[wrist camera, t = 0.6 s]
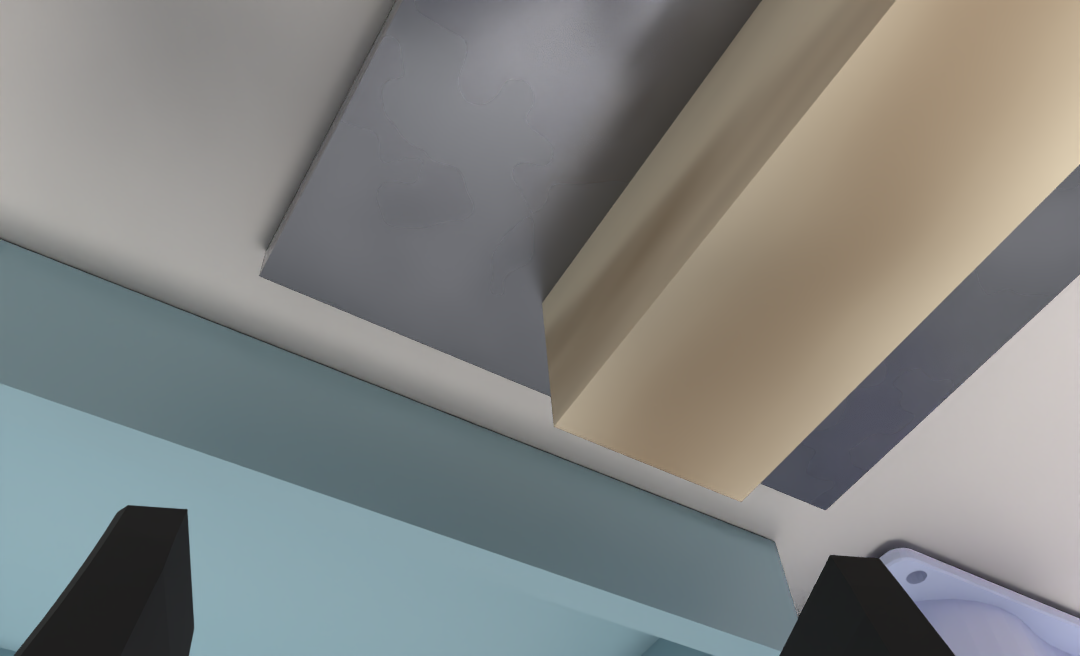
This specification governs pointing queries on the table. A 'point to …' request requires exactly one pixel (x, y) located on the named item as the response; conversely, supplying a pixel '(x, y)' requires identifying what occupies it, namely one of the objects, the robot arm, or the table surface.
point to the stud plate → (582, 201)
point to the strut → (807, 222)
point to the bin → (335, 501)
